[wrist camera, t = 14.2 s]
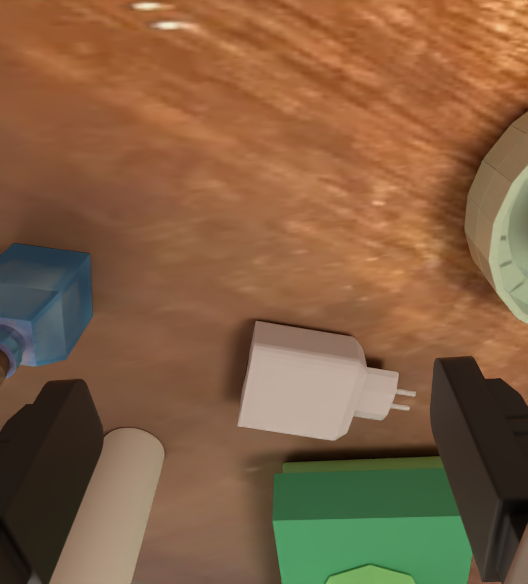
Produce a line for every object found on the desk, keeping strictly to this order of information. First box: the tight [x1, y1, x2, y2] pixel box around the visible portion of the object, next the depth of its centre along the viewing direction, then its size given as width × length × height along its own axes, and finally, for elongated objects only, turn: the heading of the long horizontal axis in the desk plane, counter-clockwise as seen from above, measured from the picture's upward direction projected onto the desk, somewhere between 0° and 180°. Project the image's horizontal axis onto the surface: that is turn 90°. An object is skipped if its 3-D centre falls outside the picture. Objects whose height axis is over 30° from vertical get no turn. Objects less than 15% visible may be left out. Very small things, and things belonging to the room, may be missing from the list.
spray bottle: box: [49, 428, 165, 584], centre depth 42 cm, size 7×7×25 cm
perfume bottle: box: [0, 243, 93, 386], centre depth 37 cm, size 6×6×12 cm
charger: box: [238, 321, 416, 441], centre depth 44 cm, size 5×9×15 cm
